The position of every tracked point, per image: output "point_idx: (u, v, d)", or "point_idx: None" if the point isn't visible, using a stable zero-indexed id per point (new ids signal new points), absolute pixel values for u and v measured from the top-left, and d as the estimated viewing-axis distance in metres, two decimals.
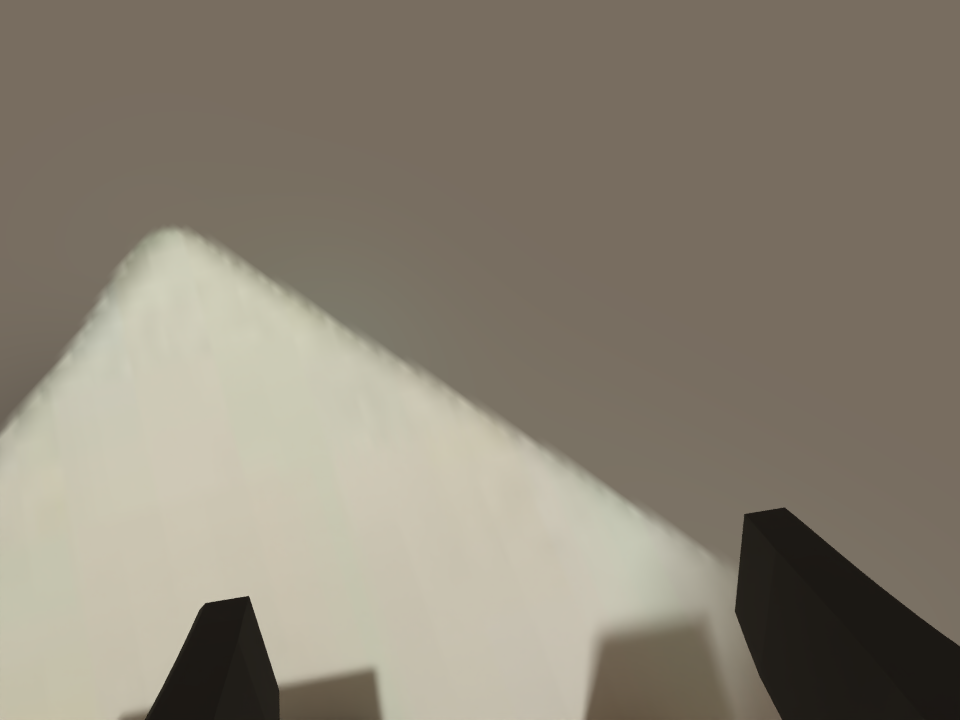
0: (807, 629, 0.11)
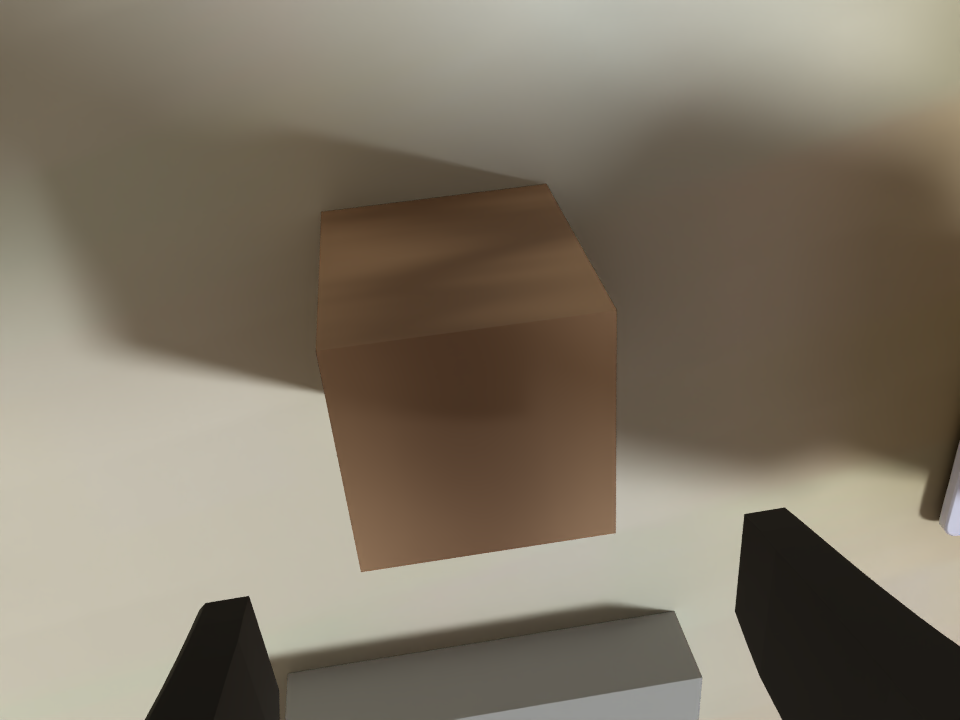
0: (807, 629, 0.11)
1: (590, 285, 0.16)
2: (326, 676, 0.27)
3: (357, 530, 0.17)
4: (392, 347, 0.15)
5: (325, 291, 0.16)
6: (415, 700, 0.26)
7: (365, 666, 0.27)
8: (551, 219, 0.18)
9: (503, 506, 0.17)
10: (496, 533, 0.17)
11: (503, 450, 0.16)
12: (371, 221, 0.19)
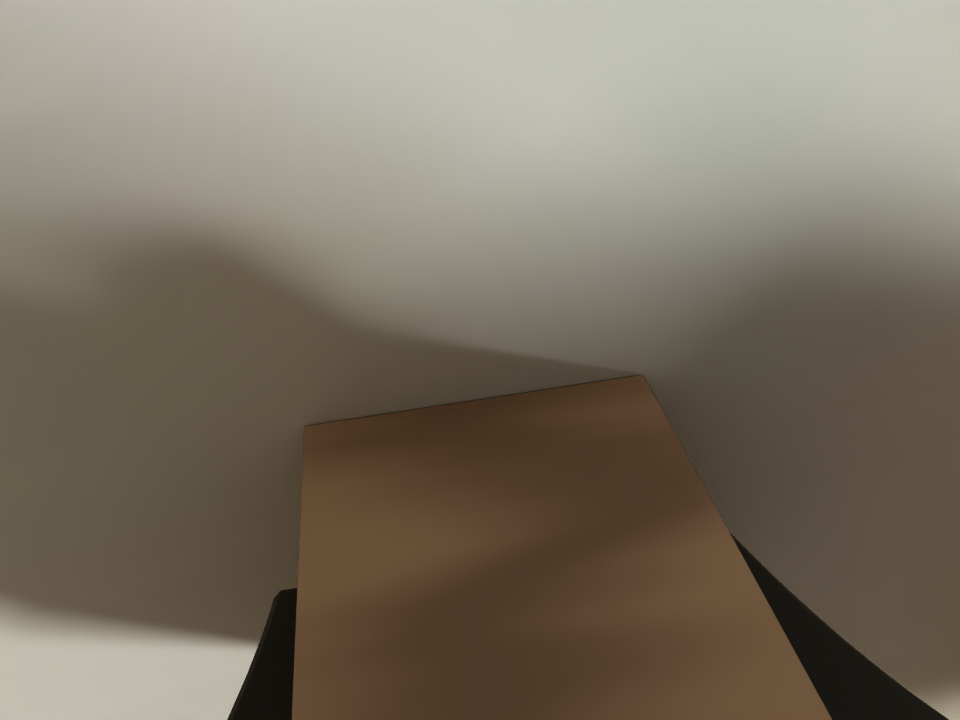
0: None
1: (770, 646, 0.09)
2: None
3: None
4: None
5: (307, 638, 0.10)
6: None
7: None
8: (667, 461, 0.12)
9: None
10: None
11: None
12: (381, 454, 0.12)
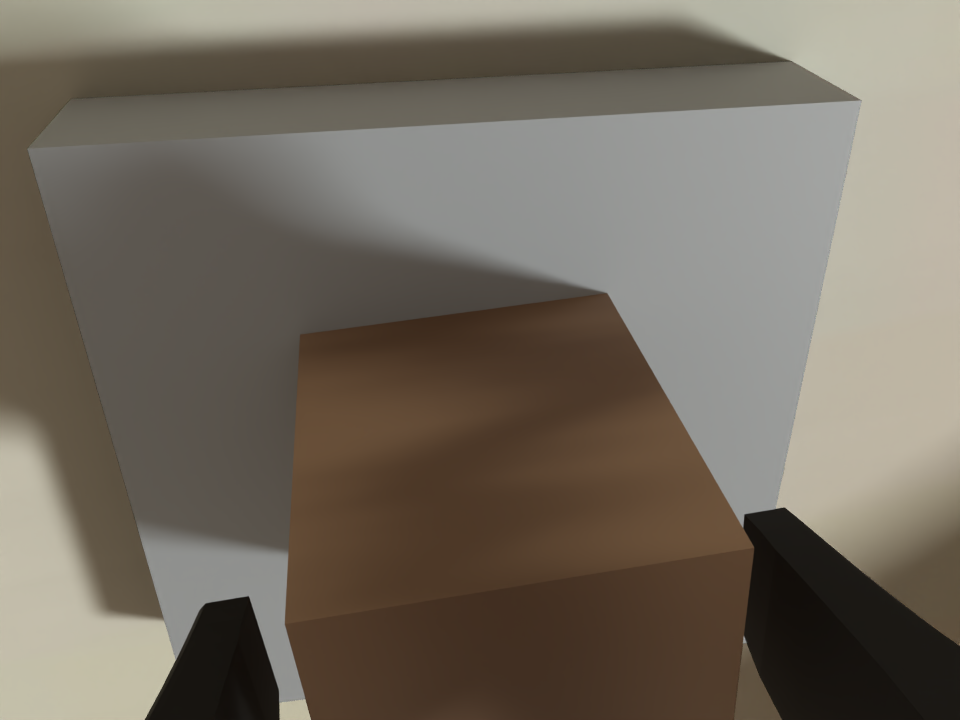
0: (806, 629, 0.11)
1: (703, 492, 0.10)
2: (144, 97, 0.14)
3: None
4: (407, 614, 0.09)
5: (302, 491, 0.11)
6: (308, 114, 0.13)
7: (221, 92, 0.14)
8: (624, 358, 0.13)
9: None
10: None
11: None
12: (369, 355, 0.14)
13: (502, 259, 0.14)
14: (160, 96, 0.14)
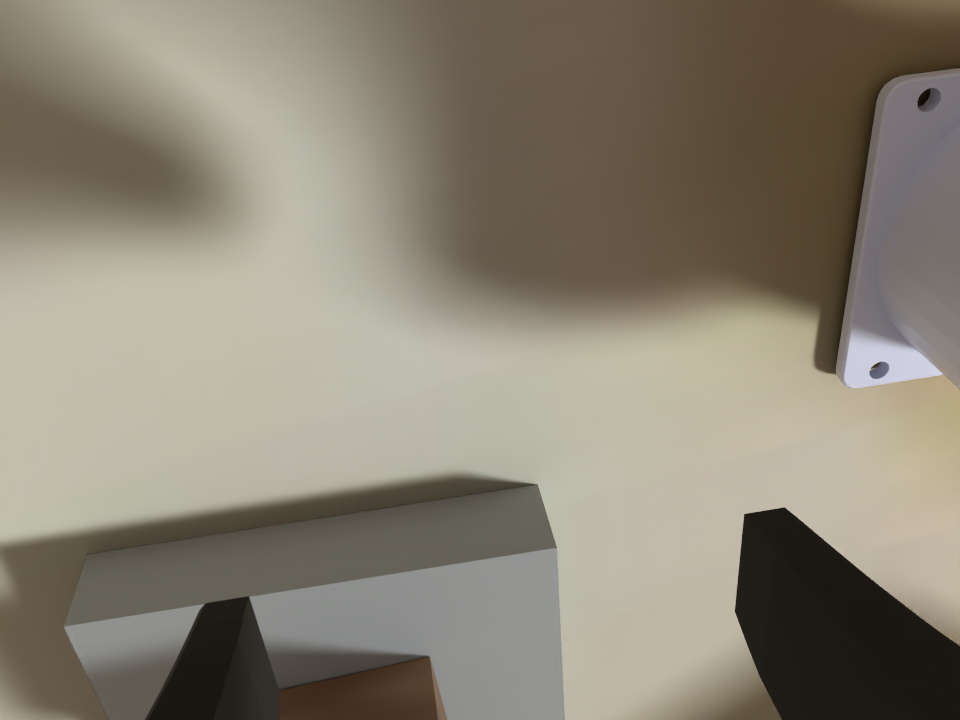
0: (806, 629, 0.11)
1: None
2: (131, 553, 0.23)
3: None
4: None
5: None
6: (225, 576, 0.22)
7: (177, 543, 0.24)
8: None
9: None
10: None
11: None
12: None
13: (351, 643, 0.23)
14: (140, 550, 0.23)
